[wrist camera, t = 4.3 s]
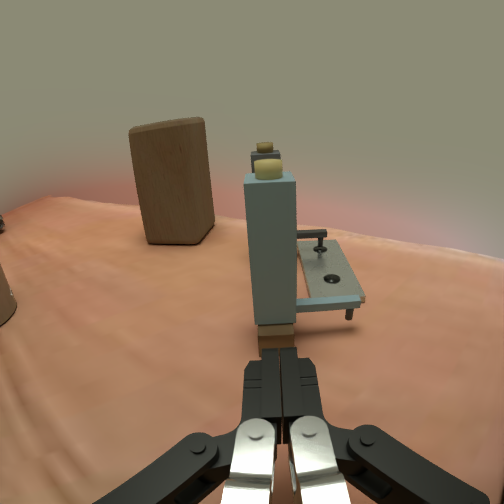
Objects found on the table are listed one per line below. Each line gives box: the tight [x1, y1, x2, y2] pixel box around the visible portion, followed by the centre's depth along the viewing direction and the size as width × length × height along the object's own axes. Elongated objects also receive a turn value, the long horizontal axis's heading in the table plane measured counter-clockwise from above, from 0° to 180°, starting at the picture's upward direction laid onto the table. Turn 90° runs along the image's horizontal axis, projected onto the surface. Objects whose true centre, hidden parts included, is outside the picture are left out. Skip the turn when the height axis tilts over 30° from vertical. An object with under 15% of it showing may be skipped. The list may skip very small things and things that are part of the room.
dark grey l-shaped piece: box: [251, 142, 327, 357], centre depth 31 cm, size 22×10×16 cm, turn 179°
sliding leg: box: [244, 159, 361, 325], centre depth 24 cm, size 4×10×15 cm, turn 89°
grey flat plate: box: [297, 240, 366, 303], centre depth 38 cm, size 15×6×1 cm, turn 179°
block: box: [129, 117, 215, 244], centre depth 48 cm, size 10×10×20 cm
